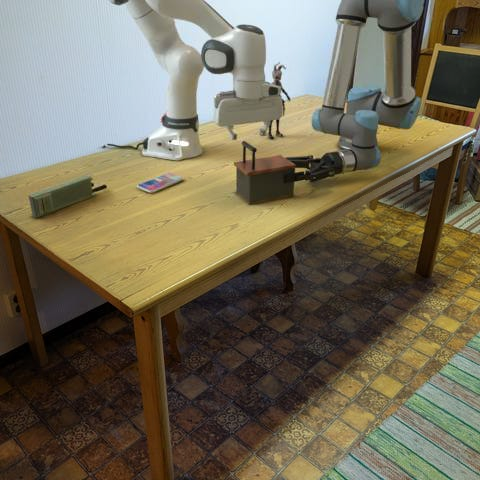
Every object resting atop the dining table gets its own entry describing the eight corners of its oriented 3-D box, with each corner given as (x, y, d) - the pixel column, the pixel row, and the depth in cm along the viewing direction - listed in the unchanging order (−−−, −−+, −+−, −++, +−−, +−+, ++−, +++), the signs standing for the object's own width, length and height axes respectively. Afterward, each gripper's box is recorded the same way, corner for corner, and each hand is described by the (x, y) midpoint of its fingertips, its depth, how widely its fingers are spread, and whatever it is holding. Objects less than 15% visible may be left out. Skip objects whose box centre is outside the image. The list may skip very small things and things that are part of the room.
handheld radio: (30, 215, 144) (102, 188, 161) (37, 219, 142) (109, 191, 159) (26, 193, 140) (100, 168, 157) (33, 197, 138) (107, 171, 155)
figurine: (266, 142, 202) (269, 63, 187) (256, 138, 206) (258, 61, 191) (291, 134, 211) (296, 59, 196) (280, 131, 215) (284, 57, 200)
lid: (247, 175, 147) (247, 150, 143) (233, 165, 154) (233, 140, 150) (295, 167, 153) (297, 143, 149) (280, 157, 160) (281, 134, 156)
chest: (249, 204, 152) (249, 175, 147) (236, 193, 159) (236, 164, 154) (293, 196, 157) (295, 167, 153) (278, 185, 165) (280, 157, 160)
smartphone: (184, 177, 167) (150, 191, 157) (184, 180, 167) (151, 194, 157) (168, 171, 171) (134, 185, 161) (168, 174, 171) (135, 188, 161)
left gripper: (218, 95, 133) (219, 145, 140) (286, 88, 141) (284, 136, 148) (209, 89, 138) (210, 138, 145) (275, 83, 146) (273, 130, 153)
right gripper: (356, 185, 158) (294, 197, 150) (317, 162, 176) (260, 172, 167) (359, 163, 155) (296, 174, 146) (319, 141, 172) (261, 150, 163)
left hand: (248, 137), depth 146 cm, fingers open, 8 cm apart
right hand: (277, 173), depth 157 cm, fingers closed on chest, 9 cm apart
